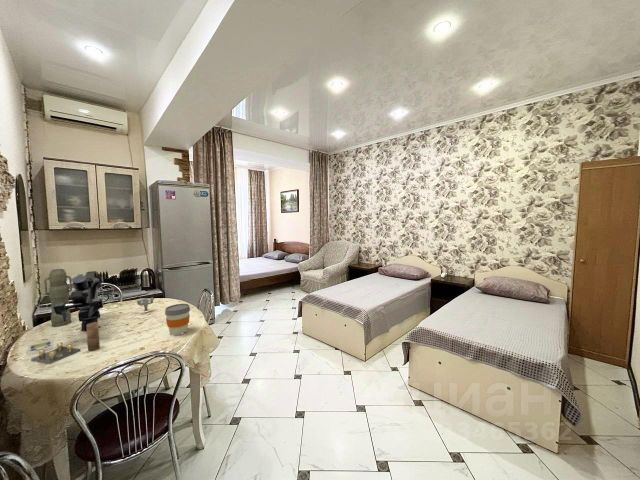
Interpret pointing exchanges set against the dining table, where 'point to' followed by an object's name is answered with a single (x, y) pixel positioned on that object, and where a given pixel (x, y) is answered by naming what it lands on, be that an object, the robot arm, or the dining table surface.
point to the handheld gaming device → (40, 347)
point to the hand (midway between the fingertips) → (76, 318)
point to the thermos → (59, 295)
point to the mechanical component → (145, 302)
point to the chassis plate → (58, 356)
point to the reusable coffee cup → (177, 318)
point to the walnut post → (93, 336)
